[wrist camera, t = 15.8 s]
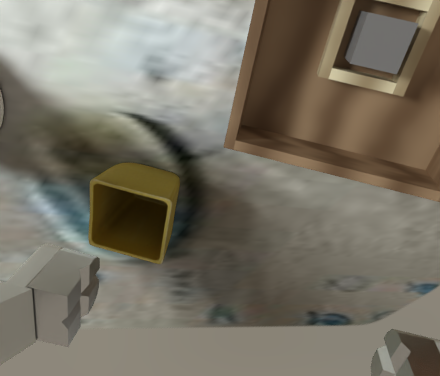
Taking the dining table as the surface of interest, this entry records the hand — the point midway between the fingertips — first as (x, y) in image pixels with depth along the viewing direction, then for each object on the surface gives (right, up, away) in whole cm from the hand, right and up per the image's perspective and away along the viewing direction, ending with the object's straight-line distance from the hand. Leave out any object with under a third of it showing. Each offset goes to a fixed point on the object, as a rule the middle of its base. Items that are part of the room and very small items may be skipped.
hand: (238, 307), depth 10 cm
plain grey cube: (+14, +17, +23) cm, 32 cm away
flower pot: (-9, +4, +36) cm, 38 cm away
